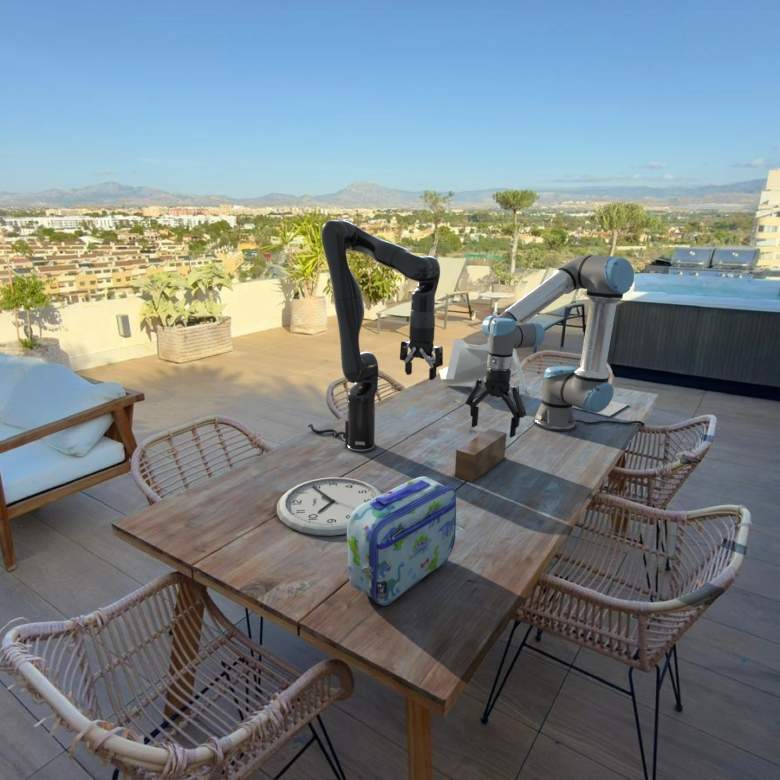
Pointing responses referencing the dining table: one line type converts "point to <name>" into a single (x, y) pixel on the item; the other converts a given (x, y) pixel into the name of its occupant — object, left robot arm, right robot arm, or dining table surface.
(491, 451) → the box
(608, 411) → the invitation card
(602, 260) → the right robot arm
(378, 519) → the lunch box
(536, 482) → the dining table surface
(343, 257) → the left robot arm
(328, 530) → the wall clock
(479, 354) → the white plastic object
